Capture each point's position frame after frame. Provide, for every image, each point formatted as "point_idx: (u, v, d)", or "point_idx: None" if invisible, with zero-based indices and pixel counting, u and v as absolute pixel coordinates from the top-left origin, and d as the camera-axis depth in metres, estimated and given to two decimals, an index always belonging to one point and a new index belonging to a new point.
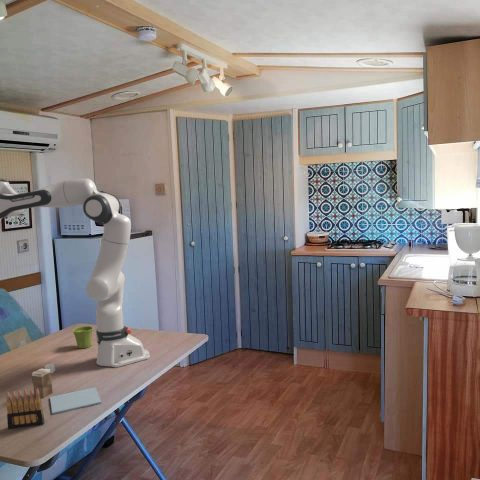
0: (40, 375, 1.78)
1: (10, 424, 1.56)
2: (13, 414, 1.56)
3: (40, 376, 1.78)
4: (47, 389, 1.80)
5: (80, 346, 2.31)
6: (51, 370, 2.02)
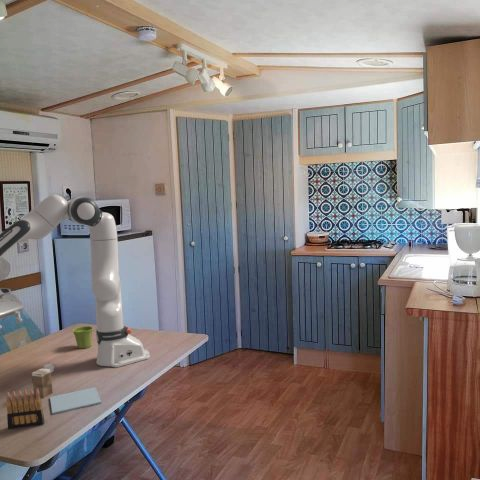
0: (40, 375, 1.78)
1: (10, 424, 1.56)
2: (13, 414, 1.56)
3: (40, 376, 1.78)
4: (47, 389, 1.80)
5: (80, 346, 2.31)
6: (50, 370, 2.03)
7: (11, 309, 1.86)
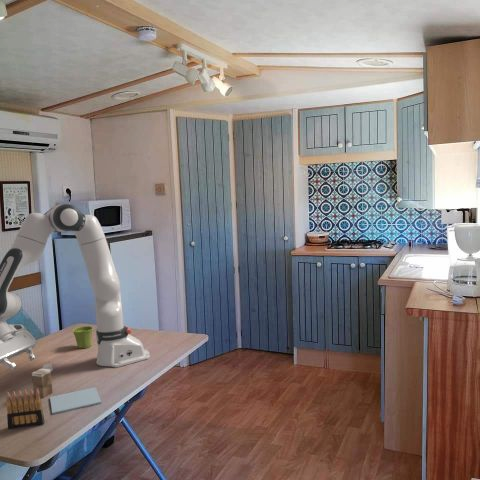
0: (40, 375, 1.78)
1: (10, 424, 1.56)
2: (13, 414, 1.56)
3: (40, 376, 1.78)
4: (47, 389, 1.80)
5: (80, 346, 2.31)
6: None
7: (24, 346, 1.86)
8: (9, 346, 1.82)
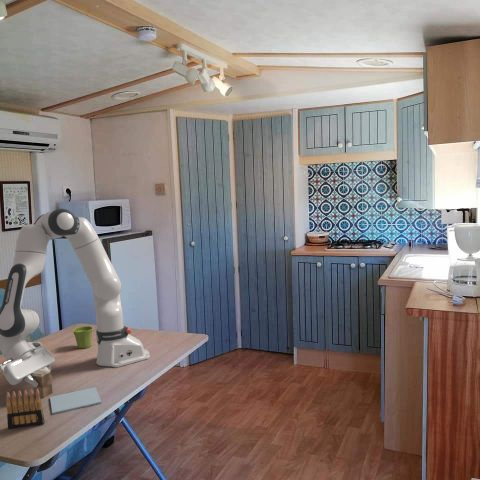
0: (40, 375, 1.78)
1: (10, 424, 1.56)
2: (13, 414, 1.56)
3: (40, 376, 1.78)
4: (47, 389, 1.80)
5: (80, 346, 2.31)
6: None
7: (43, 365, 1.84)
8: (28, 365, 1.80)
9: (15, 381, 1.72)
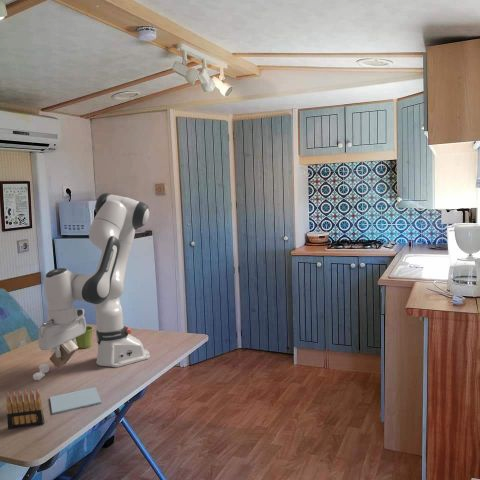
0: (68, 351, 1.70)
1: (10, 424, 1.56)
2: (13, 414, 1.56)
3: (67, 352, 1.70)
4: (64, 361, 1.74)
5: (80, 346, 2.31)
6: (45, 370, 2.03)
7: (74, 336, 1.75)
8: (63, 334, 1.70)
9: (45, 349, 1.63)
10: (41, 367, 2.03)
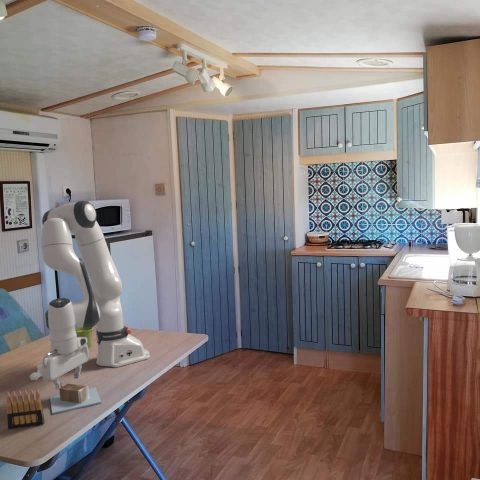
0: (80, 401, 1.71)
1: (10, 424, 1.56)
2: (13, 414, 1.56)
3: (79, 401, 1.71)
4: None
5: None
6: None
7: (77, 365, 1.76)
8: (66, 363, 1.71)
9: (48, 380, 1.65)
10: (39, 367, 2.03)
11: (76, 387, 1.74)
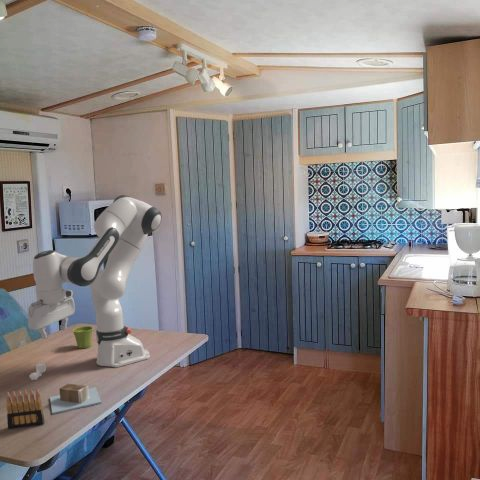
0: (80, 401, 1.71)
1: (10, 424, 1.56)
2: (13, 414, 1.56)
3: (79, 401, 1.71)
4: None
5: (80, 346, 2.31)
6: (42, 370, 2.04)
7: (63, 316, 1.79)
8: (52, 314, 1.74)
9: (34, 329, 1.68)
10: (38, 367, 2.03)
11: (76, 387, 1.74)
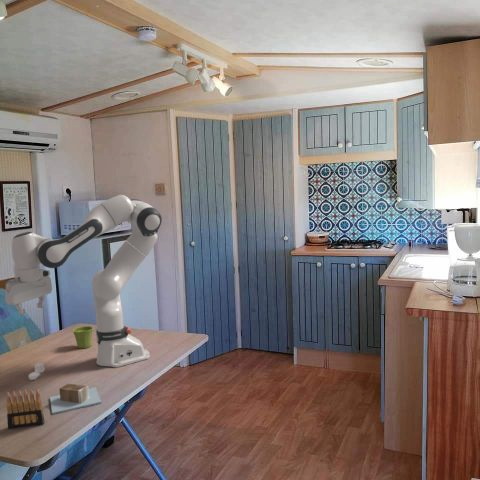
0: (80, 401, 1.71)
1: (10, 424, 1.56)
2: (13, 414, 1.56)
3: (79, 401, 1.71)
4: None
5: (80, 346, 2.31)
6: (41, 369, 2.04)
7: (40, 295, 1.90)
8: (29, 291, 1.85)
9: (11, 304, 1.79)
10: (36, 367, 2.03)
11: (76, 387, 1.74)
